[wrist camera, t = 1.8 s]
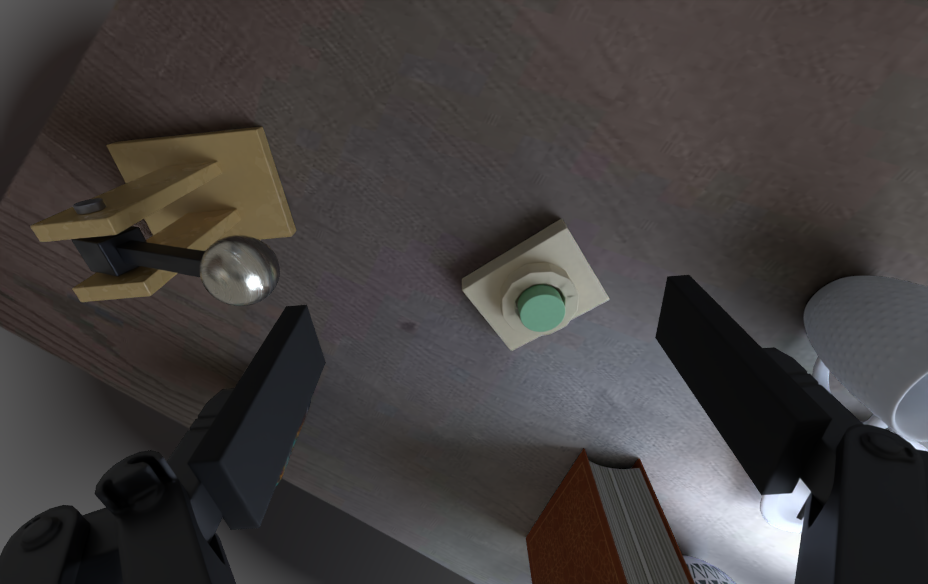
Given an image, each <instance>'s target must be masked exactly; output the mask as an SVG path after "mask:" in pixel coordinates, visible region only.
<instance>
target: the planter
mask: <svg viewBox="0 0 928 584" xmlns="http://www.w3.org/2000/svg"><path fill="white" fill-rule="evenodd" d="M683 558H684V560H685V562H686V564H687V567H688V569H689V571H690V573H691V576H692V578H693V580H694V582H695V584H736V583H735V582H734V581H733V580H732V579H731V578H730V577H729V576H728V575H727V574H726V573H724V572H723V571H721V570H720V569H719V568H717V567H715V566H714V565H712V564H710V563H708V562H706V561H704V560H701V559H698V558H695V557H692V556H686V555H683Z"/></svg>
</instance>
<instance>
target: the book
mask: <svg viewBox="0 0 928 584" xmlns="http://www.w3.org/2000/svg"><path fill="white" fill-rule="evenodd" d="M526 543H527V550H528V557H529V564H530V571H531V578H532V584H695V582H694V580H693V578H692V576H691V573H690V571H689V569H688V567H687V564H686V562H685V560H684V558H683V555H682V553H681V551H680V549H679V546H678V544H677V542H676V539H675V537H674V535H673V533H672V530H671V528H670V526H669V524H668V521H667V519H666V517H665V515H664V512H663V510H662V508H661V505H660V503H659V501H658V499H657V496H656V494H655V492H654V490H653V487H652V485H651V483H650V481H649V478H648V476H647V474H646V472H645V469H644V467H643V465H642V462H641V460H640V459H639V458H638V459H637V461H636V462H635V463H634V465H633V466H632V467H631V469H614V468H607V467H603V466H600V465H597V464H595V463H593V462H591V461H589V460H588V457H587V454H586V451H585V449H584V448H583V450H582V452H581V453H580V455H579V456H578V458H577V459H576V461H575V462H574V464H573V465H572V467H571V469H570V470H569V472H568V473H567V475H566V476H565V478H564V479H563V481H562V482H561V484H560V486H559V487H558V489H557V490H556V492H555V493H554V495H553V496H552V498H551V499H550V501H549V503H548V504H547V506H546V507H545V509H544V510H543V512H542V513H541V515H540V516H539V518H538V520H537V521H536V523H535V524H534V526H533V527H532V529H531V530H530V532H529V533H528V535H527V537H526Z"/></svg>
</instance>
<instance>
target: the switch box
mask: <svg viewBox="0 0 928 584" xmlns="http://www.w3.org/2000/svg"><path fill="white" fill-rule="evenodd" d="M535 285H548V286H551V287H553V288H555V289H556V290H557V291H558V292H559V294H560V296H561V298H562V301H563V303H564V306H565V316H564V319H563V320H562V322H561V323H560V324H559V325H558V326H557V327H555V328H554V329H552V330H549V331H545V332H536V331H532V330H530V329H528V328H526V327H525V326H524V325H523V323H522V322H521V319H520V315H519V311H518V300H519V297H520V296H521V294H522V293H523V292H524V291H525V290H526V289H528V288H530V287H532V286H535ZM462 291H463V292H464V293H465V294H466V296H467V297H468V298H469V299H470V301H471V302H472V303H473V304H474V306H475V307H476V308H477V309H478V311H479V312H480V313H481V314H482V316H483V317H484V318H485V319H486V321H487V322H488V323H489V324H490V326H491V327H492V328H493V329H494V330H495V332H496V333H497V334H498V335H499V337H500V338H501V339H502V340H503V342H504V343H505V344H506V345H507V347H508V348H509V349H510V350H511V351H513V350H515V349H517V348H519V347H520V346H522V345H524V344H526V343H528V342H530V341H532V340H534V339H536V338H538V337H539V336H541V335H550V334H552V333H554V332H556V331H557V330H559V329H561V328H563V327H565V326H566V325H567V324H568V323H569V321H570V320H572V319H574V318H576V317H578V316H579V315H581V314H583V313H585V312H587V311H589V310H591V309H593V308H595V307H597V306H598V305H600V304H602V303H604V302H606V301H608V300H609V297H608V295H607V294H606V292H605V290H604V289H603V287H602V285H601V284H600V282H599V280H598V279H597V277H596V275H595V273H594V272H593V270H592V268H591V267H590V265H589V263H588V262H587V260H586V258H585V257H584V255H583V253H582V252H581V250H580V248H579V246H578V245H577V243H576V241H575V240H574V238H573V236H572V235H571V233H570V231H569V230H568V228H567V226H566V225H565V223H564V221H563V220H562V219H560V220H558V221H556V222H555V223H553V224H551V225H550V226H548V227H547V228H545V229H543V230H542V231H540V232H538V233H537V234H535V235H533V236H532V237H530V238H528V239H527V240H525V241H523V242H522V243H520V244H518V245H517V246H515V247H513V248H512V249H510V250H509V251H507V252H505V253H504V254H502V255H500V256H499V257H497V258H495V259H494V260H492V261H490V262H489V263H487V264H485V265H484V266H482V267H480V268H479V269H477V270H475V271H474V272H472V273H471V274H469V275H467V276H466V277H464V278H462Z"/></svg>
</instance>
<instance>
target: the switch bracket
mask: <svg viewBox="0 0 928 584" xmlns="http://www.w3.org/2000/svg"><path fill="white" fill-rule="evenodd" d="M106 146H107V148H108V150H109V152H110V154H111V156H112V157H113V159H114V161H115V163H116V165H117V167H118V169H119V171H120V173H121V175H122V177H123V179H124V181H125V182H126V184H124V185H121V186H119V187H117V188H114V189H112V190H110V191H108V192H105V193H103V194H101V195H99V196H96V197H94V198H92V199H89V200H85V201H81V202H78V203H76V204H74V205H73V207H71V208H69V209H67V210H65V211H62V212H60V213H58V214H56V215H53V216H51V217H49V218H46V219H44V220H42V221H40V222H37V223H35V224H33V225H31V226H30V227H31V229H32V230H33V232H34V233H35V235H36V236H37V238H38V239H39V241H40V242H47V241H57V240H67V239H78V238H88V237H99V236H109V235H117V234H118V233H120V232H122V231H124V230H125V229H127V228H129V227H131V226H132V225H134V224H136V223H137V222H139V221H141V220H143V219H145V221H146V223H147V225H148V227H149V229H150V230H151V232H152V234H153V236H152V237H150V238H149V239H147V240H146V241H147V242H148V243H155V244H161V245H168V246H175V247H181V248H188V249H195V250H201V251H205V250H206V249H207V248H208V247H209V246H210V245H212V244H213V243H214V242H216V241H217V240H219V239H222V238H224V237H227V236H232V235H246V236H251V237H254V238H256V239H270V238H280V237H291V236H293V234H294V233H295V232H296V228H295V225H294V222H293V219H292V216H291V213H290V209H289V206H288V203H287V200H286V197H285V194H284V191H283V188H282V185H281V182H280V179H279V176H278V173H277V169H276V166H275V163H274V160H273V157H272V154H271V151H270V148H269V145H268V142H267V139H266V136H265V132H264V129H263V127H253V128H243V129H234V130H224V131H215V132H205V133H195V134H186V135H176V136H166V137H157V138H147V139H137V140H128V141H118V142H114V143H111V144H108V145H106ZM176 274H177V273H175V272H169V271H164V270H159V269H153V268H148V267H143V266H139V267H137V268H135V269H133V270H131V271H129V272H126V273H124V274H122V275H120V276H112V275H108V274H103V273H98V272H97V273H95V274H94V275H92V276H91V277H89V278H88V279H86V280H84V281H83V282H81V283H80V284H78V285H77V286H75V287H74V288H72V289H73V291H74V292H75V294H76V295H77V297H78V298H79V300H80V301H81V302H89V301H100V300H111V299H122V298H133V297H144V296H151V295H153V294H154V293H155V292H156V291H157V290H159V289H160V288H161V287H162V286H163V285H164V284H166V283H167V282H168V281H169V280H170V279H171V278H173V277H174V276H175V275H176Z"/></svg>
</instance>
